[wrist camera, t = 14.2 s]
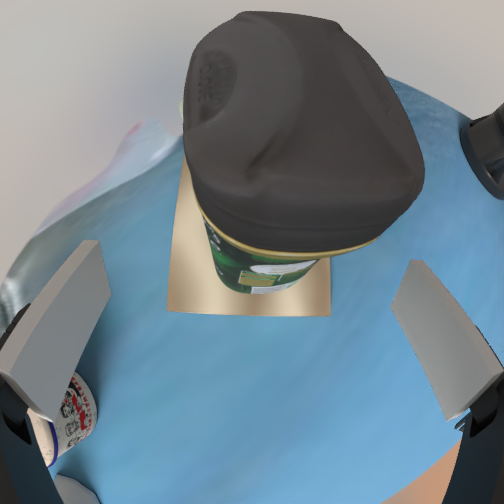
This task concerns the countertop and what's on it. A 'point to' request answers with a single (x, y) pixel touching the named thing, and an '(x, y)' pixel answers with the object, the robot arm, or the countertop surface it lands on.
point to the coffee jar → (292, 147)
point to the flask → (74, 491)
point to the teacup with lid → (66, 421)
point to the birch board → (212, 288)
